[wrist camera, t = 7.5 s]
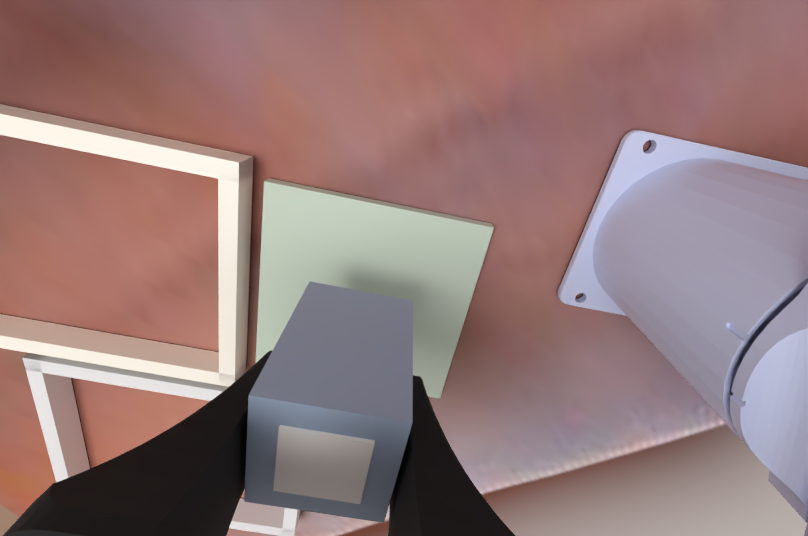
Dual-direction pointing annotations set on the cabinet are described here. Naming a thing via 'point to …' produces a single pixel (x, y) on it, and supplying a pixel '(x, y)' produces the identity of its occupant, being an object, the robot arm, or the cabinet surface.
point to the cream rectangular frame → (232, 254)
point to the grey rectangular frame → (59, 399)
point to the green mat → (370, 264)
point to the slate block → (333, 405)
